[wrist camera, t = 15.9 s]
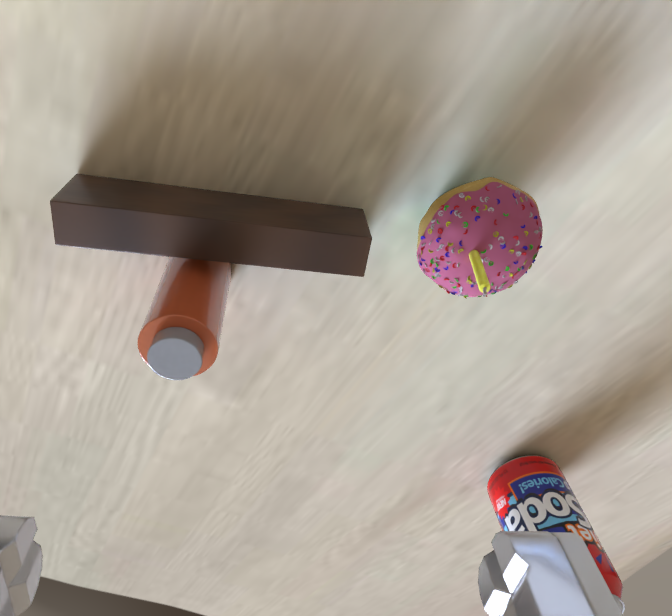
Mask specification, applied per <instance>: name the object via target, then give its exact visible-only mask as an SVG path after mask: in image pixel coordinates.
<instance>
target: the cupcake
mask: <svg viewBox="0 0 672 616" xmlns="http://www.w3.org/2000/svg"><path fill="white" fill-rule="evenodd" d="M541 239H542V222H541V219H540V216H539V211H538V207H537V204H536V202H535V201H534V199H533V198H532V197H531V196H530V195H529V194H527V193H526V192H524V191H522V190H520V189H519V188H517V187H515V186H513V185H511V184H509V183H506V182H504V181H502V180H499V179H497V178H494V177H487V178H483V179H480V180H477V181H473V182H470V183H467V184H464V185H461V186H459V187H456V188H454V189H452V190H450V191H448V192H446V193H445V194H443V195H442V196H440V197H439V198H438V199H436V200H435V201H434V202H433V203H432V205H431V206H430V208H429V209H428V211H427V213H426V214H425V216H424V217H423V218H422V220H421V222H420V225H419V232H418V244H417V260H418V263H419V266H420V268H421V270H422V271H423V272H424V273H425V274H426V275H427V276H428V277H430V278H431V279H432V280H433V281H434V282H436V283H437V284H438V285H439V287H441V288H443V289H445V290H446V291H447V293H452V294H453V295H455V294H457V295H458V296H460V295H461V296H464V297H465V298H466V297H476V296H478V297H481V296H482V295H483V296H486V297H487V294H495V293H496V292H499V291H502V290H504V289H506V288H510V287H511V286H512V285H513V284H514V283H517V282H518V281H517V280H518V279H519V278H520V277H521V276H522V275H523V274H524V273H527V270H528V269H530V268H531V266H532V263H534V261H535V258H536V256H537V253H538V250H539V249H540V248H541V247H542V246H540V244H541Z"/></svg>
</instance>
